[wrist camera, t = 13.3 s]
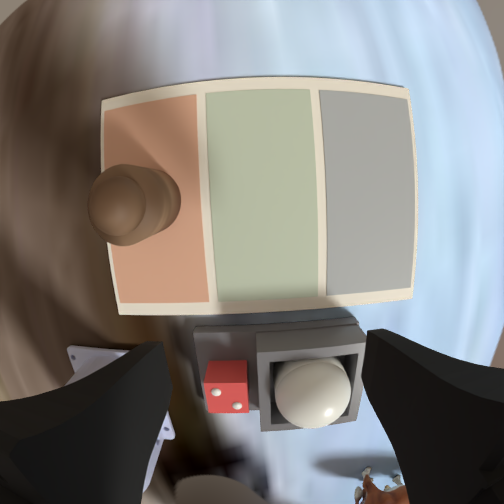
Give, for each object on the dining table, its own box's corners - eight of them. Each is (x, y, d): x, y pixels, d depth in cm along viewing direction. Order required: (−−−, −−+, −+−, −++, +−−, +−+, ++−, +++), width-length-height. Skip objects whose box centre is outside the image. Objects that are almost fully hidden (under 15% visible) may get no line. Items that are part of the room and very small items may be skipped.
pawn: (183, 230, 18) (150, 251, 12) (125, 235, 18) (73, 256, 12) (179, 165, 17) (143, 154, 11) (120, 173, 17) (66, 169, 11)
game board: (410, 297, 19) (412, 298, 19) (120, 312, 19) (118, 314, 19) (406, 89, 16) (408, 88, 16) (103, 101, 16) (101, 100, 16)
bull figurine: (414, 480, 25) (433, 521, 17) (338, 482, 24) (352, 537, 16) (435, 461, 24) (458, 502, 16) (361, 461, 23) (381, 518, 15)
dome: (336, 393, 19) (353, 436, 15) (273, 399, 19) (277, 446, 15) (342, 339, 18) (366, 380, 14) (272, 345, 18) (277, 390, 14)
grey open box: (345, 393, 21) (357, 422, 17) (207, 402, 21) (201, 434, 17) (354, 316, 19) (373, 341, 16) (195, 326, 19) (184, 353, 16)
